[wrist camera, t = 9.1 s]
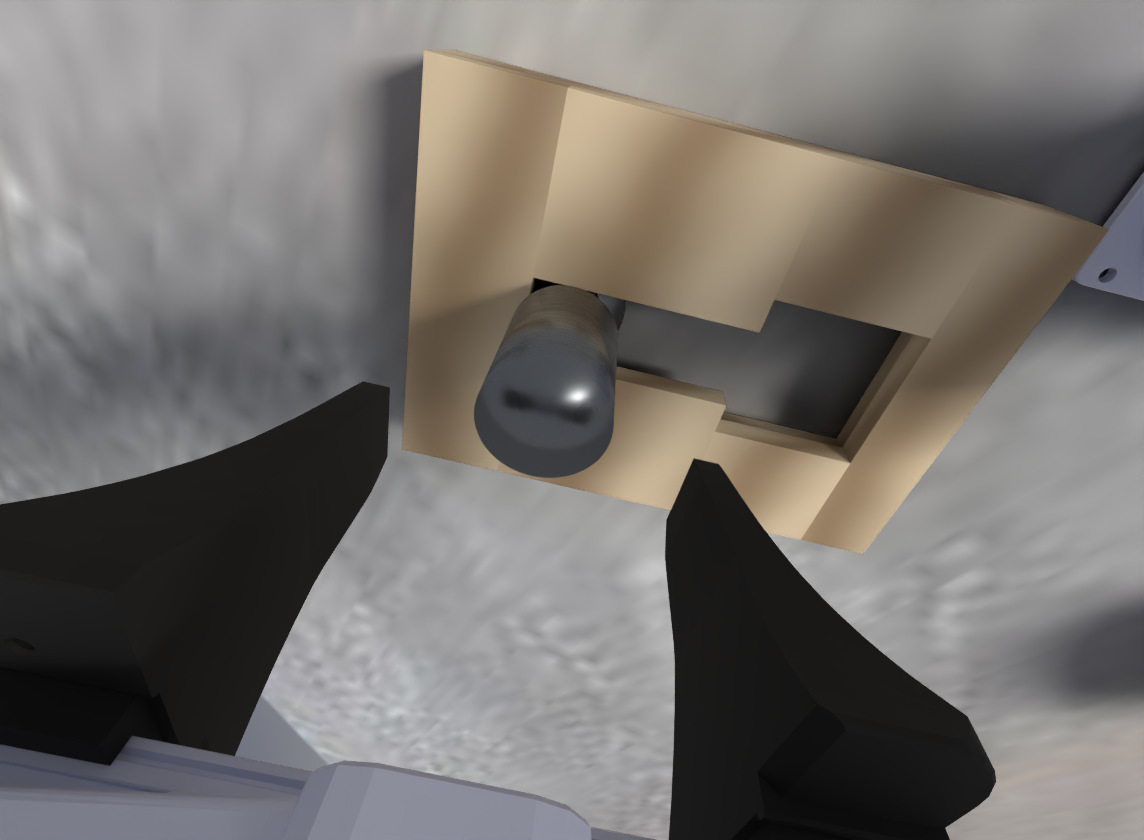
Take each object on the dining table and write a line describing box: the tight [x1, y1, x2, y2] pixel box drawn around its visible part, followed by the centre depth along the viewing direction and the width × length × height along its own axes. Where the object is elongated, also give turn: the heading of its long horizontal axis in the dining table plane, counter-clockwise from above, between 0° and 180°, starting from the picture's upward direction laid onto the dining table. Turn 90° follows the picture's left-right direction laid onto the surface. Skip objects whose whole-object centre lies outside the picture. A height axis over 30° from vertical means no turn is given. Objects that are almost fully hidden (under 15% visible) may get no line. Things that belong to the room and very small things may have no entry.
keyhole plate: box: [402, 50, 1109, 554], centre depth 21 cm, size 20×14×3 cm
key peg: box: [474, 278, 625, 478], centre depth 18 cm, size 4×4×9 cm
